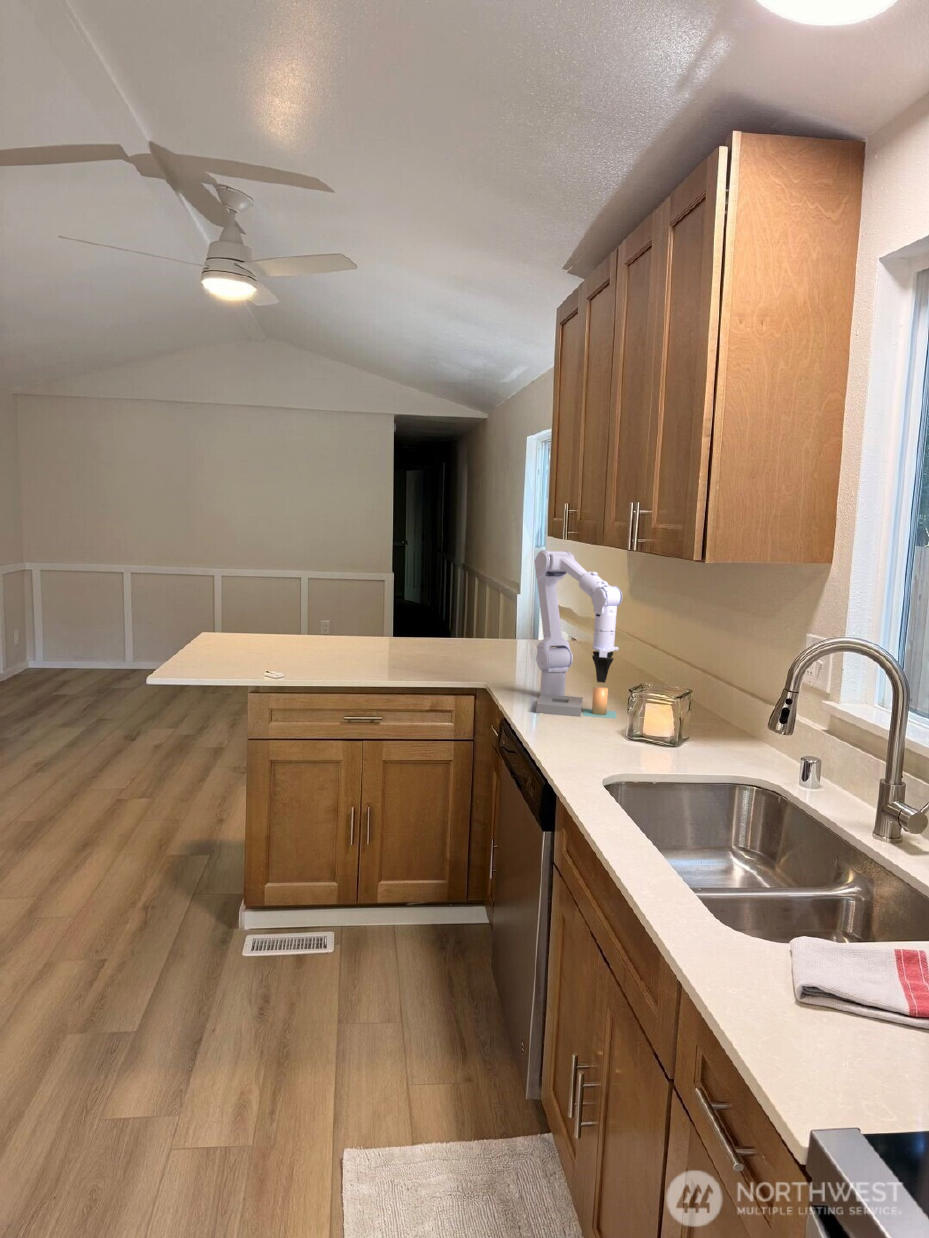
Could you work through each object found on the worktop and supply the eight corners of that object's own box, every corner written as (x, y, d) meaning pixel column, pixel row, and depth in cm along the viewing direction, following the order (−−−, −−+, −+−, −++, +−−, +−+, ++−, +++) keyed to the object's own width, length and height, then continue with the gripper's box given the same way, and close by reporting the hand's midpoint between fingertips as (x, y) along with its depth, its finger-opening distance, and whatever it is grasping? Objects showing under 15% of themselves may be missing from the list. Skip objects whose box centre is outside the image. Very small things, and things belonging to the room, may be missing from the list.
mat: (583, 710, 238) (583, 708, 238) (615, 713, 237) (616, 711, 237) (582, 717, 229) (582, 715, 229) (616, 720, 228) (616, 718, 228)
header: (539, 704, 244) (540, 693, 243) (581, 707, 242) (582, 697, 241) (535, 714, 230) (536, 703, 230) (580, 718, 228) (581, 707, 228)
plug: (592, 711, 235) (593, 686, 235) (606, 712, 235) (608, 687, 234) (591, 714, 231) (593, 689, 231) (606, 715, 231) (607, 690, 230)
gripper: (620, 634, 223) (616, 685, 224) (619, 628, 237) (615, 676, 239) (592, 633, 224) (589, 683, 226) (593, 626, 238) (590, 674, 240)
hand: (601, 679), depth 232 cm, fingers open, 7 cm apart
